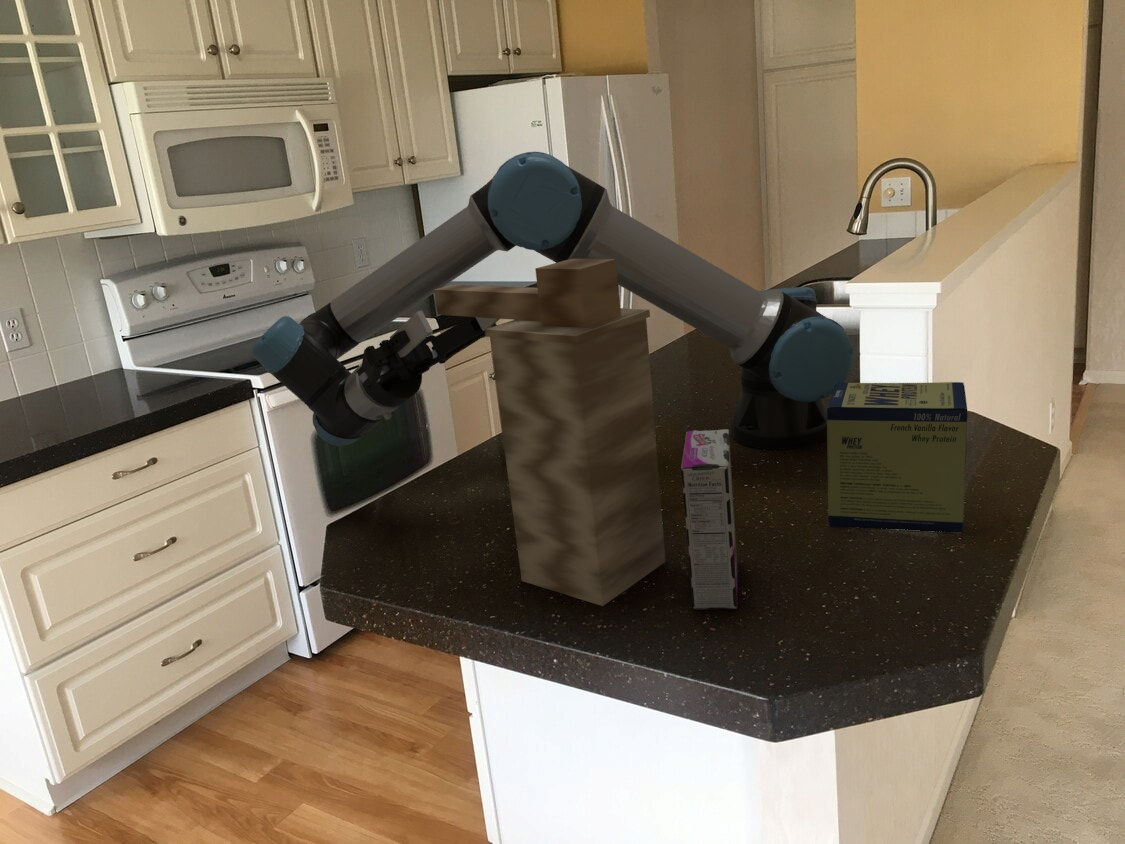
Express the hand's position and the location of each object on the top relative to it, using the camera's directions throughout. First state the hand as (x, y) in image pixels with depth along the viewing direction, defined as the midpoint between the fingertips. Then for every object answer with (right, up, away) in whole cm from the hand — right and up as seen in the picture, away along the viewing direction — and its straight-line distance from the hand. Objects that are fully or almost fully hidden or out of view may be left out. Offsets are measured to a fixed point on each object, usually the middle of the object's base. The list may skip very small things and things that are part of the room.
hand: (468, 308), depth 109 cm
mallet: (+6, -1, -4) cm, 8 cm away
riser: (+15, -31, 0) cm, 34 cm away
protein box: (+52, -25, +7) cm, 58 cm away
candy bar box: (+28, -31, -6) cm, 42 cm away
